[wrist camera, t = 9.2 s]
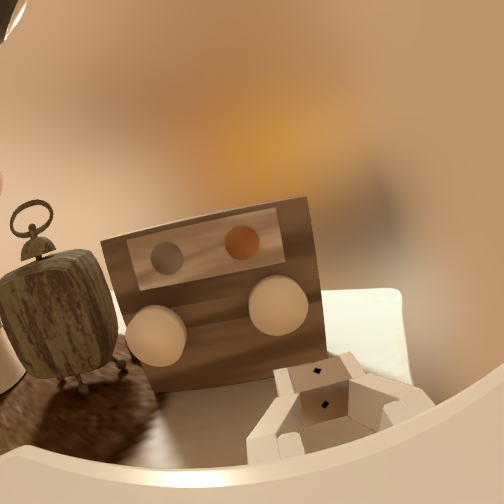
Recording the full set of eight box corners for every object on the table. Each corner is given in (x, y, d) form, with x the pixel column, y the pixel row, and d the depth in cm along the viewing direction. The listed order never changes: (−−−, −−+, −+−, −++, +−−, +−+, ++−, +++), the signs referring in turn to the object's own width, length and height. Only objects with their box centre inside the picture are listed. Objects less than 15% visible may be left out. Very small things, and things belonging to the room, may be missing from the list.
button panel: (329, 366, 28) (308, 196, 24) (153, 395, 27) (97, 242, 24) (318, 346, 32) (296, 196, 29) (161, 374, 32) (115, 235, 28)
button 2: (311, 328, 25) (304, 275, 24) (255, 340, 24) (243, 287, 23) (296, 302, 31) (289, 258, 30) (251, 312, 31) (241, 268, 30)
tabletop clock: (135, 360, 36) (85, 187, 31) (132, 396, 27) (62, 180, 22) (56, 376, 32) (2, 217, 27) (40, 409, 23) (-32, 220, 18)
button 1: (190, 363, 22) (173, 309, 21) (137, 369, 22) (117, 318, 21) (199, 329, 29) (186, 284, 28) (154, 335, 29) (140, 292, 28)
